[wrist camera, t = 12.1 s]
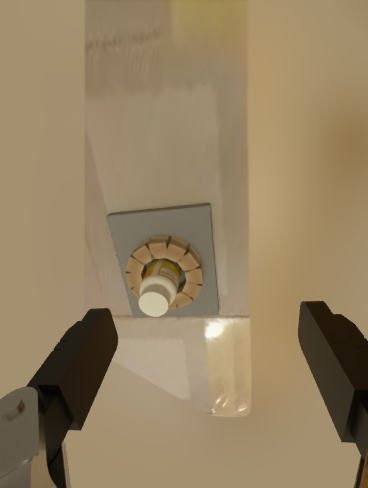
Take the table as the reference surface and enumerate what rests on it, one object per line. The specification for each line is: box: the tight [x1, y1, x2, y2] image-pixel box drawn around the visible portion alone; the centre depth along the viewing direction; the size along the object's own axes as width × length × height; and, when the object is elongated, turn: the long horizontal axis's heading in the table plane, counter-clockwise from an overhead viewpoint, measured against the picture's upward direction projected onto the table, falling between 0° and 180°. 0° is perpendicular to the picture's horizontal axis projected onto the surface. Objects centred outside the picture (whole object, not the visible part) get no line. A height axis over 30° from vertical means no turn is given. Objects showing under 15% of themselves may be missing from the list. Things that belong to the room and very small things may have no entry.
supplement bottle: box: [139, 258, 181, 317], centre depth 35 cm, size 5×5×10 cm
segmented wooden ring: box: [125, 235, 203, 310], centre depth 38 cm, size 12×12×3 cm
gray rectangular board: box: [107, 203, 219, 318], centre depth 41 cm, size 20×16×2 cm
